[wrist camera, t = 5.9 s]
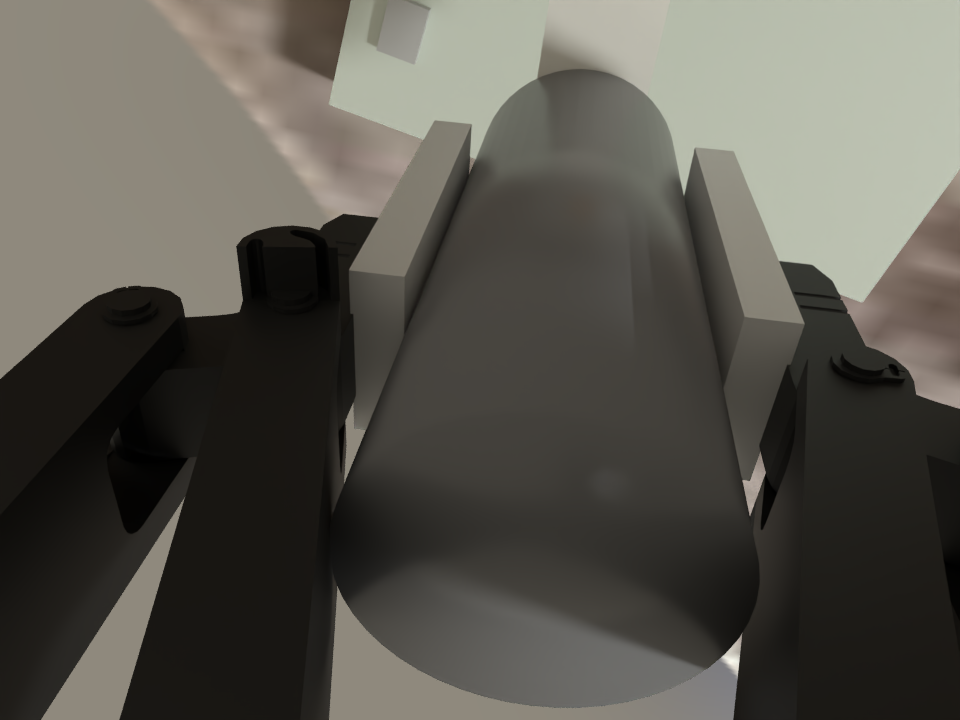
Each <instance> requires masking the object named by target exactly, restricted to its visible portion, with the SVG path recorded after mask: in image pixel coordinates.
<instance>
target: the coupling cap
mask: <svg viewBox="0 0 960 720" xmlns="http://www.w3.org/2000/svg"><path fill="white" fill-rule="evenodd" d="M669 3H670V0H549V6H548V12H547V18H546V25H545V31H544V37H543V44H542V50H541V57H540V63H539V69H538V76H537V79H535V80H533V81H531V82H529V83H528V84H526V85H525V86H523V87H522V88H520V89H519V90H517V91H516V92H515V93H514V94H513V95H512V96H510V97H509V98H508V99H507V101H506V102H505V103H504V104H503V105H502V106H501V107H500V109H499V110H498V112H497V113H496V115H495V116H494V118H493V120H492V122H491V124H490V126H489V128H488V130H487V132H486V135H485V137H484V140H483V142H482V145H481V147H480V150H479V152H478V154H477V157H476V159H475V162H474V164H473V167H472V169H471V172H470V174H469V177H468V179H467V182H466V184H465V187H464V189H463V192H462V194H461V197H460V199H459V201H458V204H457V206H456V209H455V211H454V214H453V216H452V219H451V221H450V224H449V226H448V229H447V231H446V234H445V236H444V239H443V241H442V244H441V246H440V248H439V251H438V253H437V256H436V258H435V261H434V263H433V266H432V268H431V271H430V273H429V276H428V278H427V281H426V283H425V286H424V288H423V290H422V293H421V295H420V298H419V300H418V303H417V305H416V308H415V310H414V313H413V315H412V318H411V320H410V323H409V325H408V328H407V330H406V333H405V335H404V337H403V340H402V342H401V345H400V347H399V350H398V352H397V355H396V357H395V360H394V362H393V365H392V367H391V370H390V372H389V375H388V377H387V380H386V382H385V384H384V387H383V389H382V392H381V394H380V397H379V399H378V402H377V404H376V407H375V409H374V412H373V414H372V417H371V419H370V422H369V424H368V427H367V429H366V432H365V434H364V437H363V439H362V441H361V444H360V446H359V449H358V451H357V454H356V456H355V459H354V461H353V464H352V466H351V469H350V471H349V473H348V476H347V478H346V481H345V483H344V486H343V488H342V491H341V493H340V496H339V498H338V501H337V503H336V506H335V509H334V512H333V516H332V519H331V522H330V545H331V560H332V572H333V575H334V579H335V581H336V584H337V586H338V588H339V590H340V593H341V595H342V597H343V599H344V600H345V602H346V603H347V605H348V607H349V608H350V610H351V611H352V613H353V614H354V616H355V617H356V618H357V619H358V620H359V621H360V623H361V624H362V625H363V626H364V627H365V629H366V630H367V631H368V632H369V633H370V634H371V635H373V637H375V638H376V639H377V640H378V641H379V642H380V643H381V644H382V645H383V646H385V647H386V648H387V649H388V650H390V651H391V652H392V653H394V654H395V655H396V656H398V657H399V658H400V659H402V660H404V661H405V662H407V663H408V664H410V665H412V666H413V667H415V668H416V669H418V670H420V671H422V672H424V673H426V674H428V675H430V676H432V677H433V678H436V679H437V680H440V681H442V682H444V683H447V684H449V685H452V686H455V687H457V688H459V689H462V690H465V691H469V692H471V693H474V694H478V695H481V696H484V697H488V698H493V699H497V700H501V701H505V702H511V703H518V704H524V705H530V706H542V707H554V708H561V707H562V708H565V707H566V708H580V707H594V706H605V705H611V704H617V703H624V702H629V701H633V700H637V699H641V698H645V697H648V696H651V695H654V694H657V693H660V692H663V691H665V690H668V689H671V688H673V687H675V686H677V685H679V684H681V683H683V682H685V681H687V680H689V679H691V678H693V677H695V676H696V675H698V674H699V673H701V672H702V671H704V670H705V669H707V668H709V667H710V666H711V665H712V664H714V663H715V662H716V661H717V660H718V659H720V658H721V657H722V656H723V655H724V654H725V653H726V652H727V651H728V650H729V649H730V648H731V647H732V645H733V644H734V643H735V642H736V641H737V640H738V639H739V637H740V636H741V634H742V632H743V631H744V629H745V627H746V626H747V624H748V623H749V621H750V618H751V616H752V613H753V610H754V608H755V605H756V602H757V597H758V591H759V585H760V571H759V560H758V555H757V550H756V545H755V540H754V535H753V530H752V525H751V521H750V516H749V511H748V506H747V501H746V496H745V491H744V487H743V482H742V477H741V472H740V467H739V462H738V457H737V452H736V448H735V443H734V438H733V433H732V428H731V423H730V418H729V413H728V409H727V404H726V399H725V394H724V389H723V384H722V379H721V375H720V370H719V365H718V360H717V355H716V350H715V345H714V340H713V336H712V331H711V326H710V321H709V316H708V311H707V306H706V301H705V297H704V292H703V287H702V282H701V277H700V272H699V267H698V263H697V258H696V253H695V248H694V243H693V238H692V233H691V228H690V224H689V219H688V214H687V209H686V204H685V199H684V194H683V189H682V185H681V180H680V175H679V170H678V165H677V160H676V155H675V151H674V146H673V141H672V137H671V133H670V131H669V128H668V125H667V123H666V121H665V119H664V117H663V116H662V114H661V112H660V111H659V109H658V108H657V107H656V105H655V104H654V103H653V101H652V100H651V99H650V98H649V97H648V91H649V87H650V83H651V79H652V75H653V70H654V66H655V62H656V58H657V54H658V49H659V45H660V41H661V37H662V33H663V28H664V24H665V20H666V16H667V12H668V8H669Z"/></svg>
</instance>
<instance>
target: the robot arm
mask: <svg viewBox="0 0 960 720" xmlns="http://www.w3.org/2000/svg"><path fill="white" fill-rule="evenodd" d="M471 129H472V124H466V123H456V122H446V121H437V120H435V121H434V122H433V124H432V126H431V128H430V129H429V131H428V133H427V135H426V136H425V138H424V140H423V142H422V143H421V145H420V147H419V149H418V150H417V152H416V154H415V156H414V157H413V159H412V161H411V162H410V164H409V166H408V168H407V169H406V171H405V173H404V175H403V176H402V178H401V180H400V182H399V183H398V185H397V187H396V189H395V190H394V192H393V194H392V196H391V197H390V199H389V201H388V203H387V204H386V206H385V208H384V210H383V211H382V213H381V215H380V217H379V218H375V217H366V216H357V215H348V214H343V215H341V216H339V217H337V218H335V219H333V220H331V221H330V222H328V223H326V224H324V225H323V227H322V228H321V229H320V230H317V229H313V228H310V227H300V226H281V227H271V228H267V229H263V230H259V231H256V232H254V233H252V234H250V235H248V236H246V237H244V238H243V239H242V240H241V241H240V242H239V244H238V245H237V246H236V247H237V255H238V263H239V271H240V279H241V287H242V296H243V302H242V306H241V309H240V312H238V313H234V314H227V315H218V316H202V317H185V315H184V309H183V305H182V302H181V299H180V297H178V296H177V295H175V294H174V293H172V292H171V291H168V290H164V289H160V288H156V287H141V286H129V287H128V288H126V287H123V288H117V289H114V290H113V291H111V292H107V293H104V294H102V295H99V296H97V297H95V298H94V299H92V300H90V301H89V302H87V303H86V304H84V305H83V306H82V307H81V308H80V309H78V310H77V311H76V312H75V313H74V314H73V315H72V316H71V317H69V318H68V319H67V320H66V321H65V322H64V323H63V324H62V325H60V326H59V327H58V328H57V329H56V330H55V331H54V332H53V333H51V334H50V335H49V336H48V337H47V338H46V339H45V340H44V341H43V342H41V343H40V344H39V345H38V346H37V347H36V348H35V349H34V350H33V351H31V352H30V353H29V354H28V355H27V356H26V357H25V358H23V360H22V361H20V362H19V363H18V364H17V365H16V366H14V367H13V368H12V369H11V370H10V371H9V372H8V373H7V374H5V375H4V376H3V377H2V378H1V379H0V720H41V719H42V717H43V715H44V714H45V712H46V711H47V709H48V708H49V706H50V705H51V703H52V702H53V700H54V699H55V697H56V695H57V694H58V692H59V691H60V689H61V688H62V686H63V685H64V683H65V682H66V680H67V678H68V677H69V675H70V674H71V672H72V671H73V669H74V668H75V666H76V665H77V663H78V661H79V660H80V658H81V657H82V655H83V654H84V652H85V651H86V649H87V648H88V646H89V644H90V643H91V641H92V640H93V638H94V637H95V635H96V634H97V632H98V630H99V629H100V627H101V626H102V624H103V623H104V621H105V620H106V618H107V616H108V615H109V613H110V612H111V610H112V609H113V607H114V605H115V604H116V603H117V601H118V599H119V598H120V596H121V595H122V593H123V592H124V590H125V588H126V587H127V586H128V584H129V582H130V581H131V579H132V578H133V576H134V575H135V573H136V572H137V570H138V569H139V567H140V565H141V564H142V562H143V561H144V559H145V558H146V556H147V555H148V553H149V552H150V550H151V548H152V547H153V545H154V544H155V542H156V541H157V539H158V537H159V536H160V535H161V533H162V531H163V530H164V528H165V527H166V525H167V524H168V522H169V521H170V519H171V517H172V516H173V514H174V513H175V511H176V510H177V508H178V507H179V505H180V504H181V502H182V500H183V499H184V497H185V499H184V503H183V506H182V510H181V513H180V516H179V520H178V523H177V527H176V530H175V534H174V537H173V540H172V543H171V547H170V550H169V554H168V557H167V561H166V564H165V567H164V571H163V574H162V577H161V581H160V584H159V588H158V591H157V594H156V598H155V601H154V605H153V608H152V611H151V615H150V618H149V621H148V625H147V628H146V632H145V635H144V638H143V642H142V645H141V649H140V652H139V655H138V659H137V662H136V666H135V669H134V672H133V676H132V679H131V683H130V686H129V689H128V693H127V696H126V700H125V703H124V706H123V710H122V713H121V717H120V720H329V710H330V709H329V708H330V693H331V677H332V663H333V647H334V631H335V615H336V599H337V584H336V581H335V579H334V575H333V572H332V560H331V545H330V522H331V519H332V516H333V512H334V509H335V506H336V503H337V501H338V498H339V496H340V493H341V491H342V488H343V486H344V474H345V458H346V425H345V420H346V418H347V415H348V413H349V411H350V408H351V406H352V404H353V403H354V428H355V429H363V430H366V429H367V427H368V424H369V422H370V419H371V417H372V414H373V412H374V409H375V407H376V404H377V402H378V399H379V397H380V394H381V392H382V389H383V387H384V384H385V382H386V380H387V377H388V375H389V372H390V370H391V367H392V365H393V362H394V360H395V357H396V355H397V352H398V350H399V347H400V345H401V342H402V340H403V337H404V335H405V333H406V330H407V328H408V325H409V323H410V320H411V318H412V315H413V313H414V310H415V308H416V305H417V303H418V300H419V298H420V295H421V293H422V290H423V288H424V286H425V283H426V281H427V278H428V276H429V273H430V271H431V268H432V266H433V263H434V261H435V258H436V256H437V253H438V251H439V248H440V246H441V244H442V241H443V239H444V236H445V234H446V231H447V229H448V226H449V224H450V221H451V219H452V216H453V214H454V211H455V209H456V206H457V204H458V201H459V199H460V197H461V194H462V192H463V189H464V187H465V184H466V182H467V179H468V177H469V164H470V147H471ZM684 199H685V204H686V209H687V214H688V219H689V224H690V228H691V233H692V238H693V243H694V248H695V253H696V258H697V263H698V267H699V272H700V277H701V282H702V287H703V292H704V297H705V301H706V306H707V311H708V316H709V321H710V326H711V331H712V336H713V340H714V345H715V350H716V355H717V360H718V365H719V370H720V375H721V379H722V384H723V389H724V394H725V399H726V404H727V409H728V413H729V418H730V423H731V428H732V433H733V438H734V443H735V448H736V452H737V457H738V462H739V467H740V472H741V477H742V480H747V481H750V479H751V476H752V473H753V471H754V468H755V465H756V462H757V459H758V456H759V453H760V451H761V455H762V459H763V463H764V467H765V471H766V474H765V477H764V480H763V482H762V485H761V488H760V491H759V493H758V496H757V499H756V502H755V504H754V507H753V510H752V513H751V515H750V521H751V525H752V530H753V535H754V540H755V545H756V550H757V555H758V560H759V571H760V585H759V591H758V597H757V602H756V605H755V608H754V610H753V613H752V616H751V618H750V621H749V623H748V624H747V626H746V627H745V629H744V631H743V633H742V642H741V652H740V661H739V671H738V681H737V691H736V700H735V709H734V719H733V720H960V409H958V408H955V407H951V406H948V405H945V404H941V403H938V402H935V401H932V400H929V399H926V398H923V397H921V396H918V395H916V391H915V385H914V381H913V379H912V377H911V375H910V373H909V371H908V370H907V369H906V368H905V367H904V366H902V365H901V364H900V363H899V362H898V361H897V360H896V359H894V358H892V357H890V356H888V355H886V354H884V353H882V352H880V351H878V350H876V349H872V348H869V347H866V346H865V344H864V342H863V340H862V338H861V336H860V334H859V332H858V330H857V328H856V326H855V324H854V322H853V320H852V318H851V316H850V314H847V311H848V310H847V308H846V306H845V305H844V303H843V301H842V300H840V298H841V297H840V295H839V293H838V291H837V289H836V287H835V285H834V283H833V281H832V280H831V279H830V278H828V277H827V276H826V275H825V274H823V273H822V272H821V271H820V270H818V269H817V268H816V267H815V266H813V265H811V264H802V263H793V262H784V261H779V260H778V258H777V255H776V253H775V250H774V248H773V245H772V243H771V241H770V238H769V236H768V233H767V231H766V228H765V226H764V224H763V221H762V219H761V216H760V214H759V211H758V209H757V207H756V204H755V202H754V199H753V197H752V194H751V192H750V190H749V187H748V185H747V182H746V180H745V177H744V175H743V173H742V170H741V168H740V165H739V163H738V160H737V158H736V156H735V153H734V151H726V150H716V149H707V148H697V147H695V149H694V154H693V158H692V163H691V167H690V172H689V176H688V180H687V185H686V189H685V194H684Z"/></svg>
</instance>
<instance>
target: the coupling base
mask: <svg viewBox="0 0 960 720" xmlns="http://www.w3.org/2000/svg"><path fill="white" fill-rule="evenodd" d="M548 6H549V0H351V2H350V7H349V12H348V17H347V21H346V26H345V31H344V35H343V40H342V45H341V49H340V54H339V59H338V64H337V68H336V73H335V78H334V82H333V87H332V92H331V97H330V101H329V105H331V106H334V107H336V108H339V109H342V110H344V111H347V112H350V113H353V114H355V115H358V116H361V117H363V118H366V119H369V120H371V121H374V122H377V123H380V124H382V125H385V126H388V127H390V128H393V129H396V130H398V131H401V132H404V133H406V134H409V135H412V136H415V137H417V138H420V139H423V140H424V138H425V136H426V135H427V133H428V131H429V129H430V128H431V126H432V124H433V122H434V121H435V120H437V121H446V122H456V123H466V124H472V129H471V147H470V157H471V158H474V159H476V157H477V154H478V152H479V150H480V147H481V145H482V142H483V140H484V137H485V135H486V132H487V130H488V128H489V126H490V124H491V122H492V120H493V118H494V116H495V115H496V113H497V112H498V110H499V109H500V107H501V106H502V105H503V104H504V103H505V102H506V101H507V99H508V98H509V97H510V96H512V95H513V94H514V93H515V92H516V91H517V90H519V89H520V88H522V87H523V86H525V85H526V84H528V83H529V82H531V81H533V80H535V79H537V76H538V69H539V63H540V57H541V50H542V44H543V37H544V31H545V25H546V18H547V12H548ZM648 97H649V98H650V99H651V100H652V101H653V103H654V104H655V105H656V107H657V108H658V109H659V111H660V112H661V114H662V116H663V117H664V119H665V121H666V123H667V125H668V128H669V131H670V133H671V137H672V141H673V146H674V151H675V155H676V160H677V165H678V170H679V175H680V180H681V185H682V189H683V194H685V189H686V185H687V180H688V176H689V172H690V167H691V163H692V158H693V154H694V149H695V147H697V148H707V149H716V150H726V151H734V153H735V156H736V158H737V160H738V163H739V165H740V168H741V170H742V173H743V175H744V177H745V180H746V182H747V185H748V187H749V190H750V192H751V194H752V197H753V199H754V202H755V204H756V207H757V209H758V211H759V214H760V216H761V219H762V221H763V224H764V226H765V228H766V231H767V233H768V236H769V238H770V241H771V243H772V245H773V248H774V250H775V253H776V255H777V258H778V260H779V261H784V262H793V263H802V264H811V265H813V266H815V267H816V268H817V269H818V270H820V271H821V272H822V273H823V274H825V275H826V276H827V277H828V278H830V279H831V280H832V281H833V283H834V285H835V287H836V289H837V291H838V293H839V294H840V295H843V296H846V297H848V298H851V299H854V300H856V301H859V302H863V301H864V300H865V298H866V297H867V296H868V294H869V293H870V292H871V290H872V289H873V287H874V286H875V285H876V283H877V282H878V281H879V279H880V278H881V276H882V275H883V274H884V272H885V271H886V270H887V268H888V267H889V266H890V264H891V263H892V261H893V260H894V259H895V257H896V256H897V255H898V253H899V252H900V250H901V249H902V248H903V246H904V245H905V244H906V242H907V241H908V239H909V238H910V237H911V235H912V234H913V233H914V231H915V230H916V229H917V227H918V226H919V224H920V223H921V222H922V220H923V219H924V218H925V216H926V215H927V213H928V212H929V211H930V209H931V208H932V207H933V205H934V204H935V202H936V201H937V200H938V198H939V197H940V196H941V194H942V193H943V192H944V190H945V189H946V187H947V186H948V185H949V183H950V182H951V181H952V179H953V178H954V176H955V175H956V174H957V172H958V171H959V170H960V0H670V3H669V8H668V12H667V16H666V20H665V24H664V28H663V33H662V37H661V41H660V45H659V49H658V54H657V58H656V62H655V66H654V70H653V75H652V79H651V83H650V87H649V91H648Z"/></svg>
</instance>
